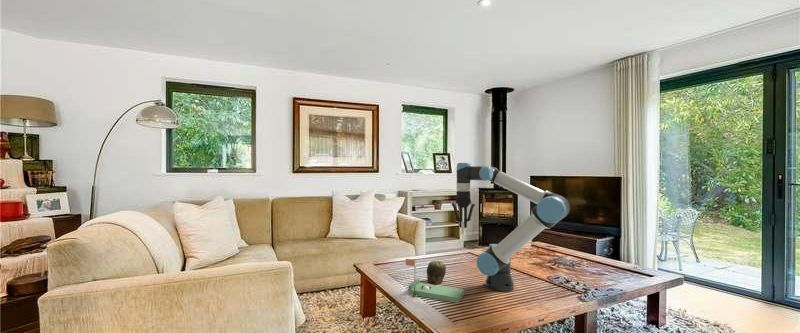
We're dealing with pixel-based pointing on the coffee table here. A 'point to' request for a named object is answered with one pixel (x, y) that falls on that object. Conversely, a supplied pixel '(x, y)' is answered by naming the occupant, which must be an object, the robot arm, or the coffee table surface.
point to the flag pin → (413, 263)
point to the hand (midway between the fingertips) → (463, 233)
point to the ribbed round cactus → (436, 272)
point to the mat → (436, 292)
